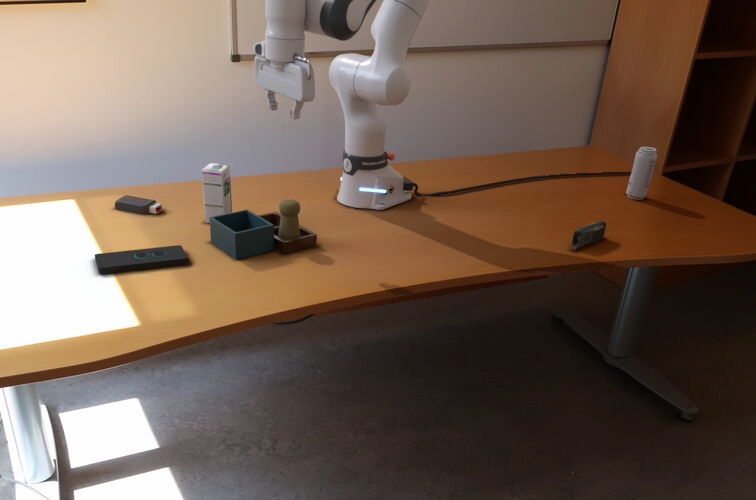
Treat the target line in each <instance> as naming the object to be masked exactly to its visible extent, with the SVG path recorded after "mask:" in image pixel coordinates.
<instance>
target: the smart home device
mask: <svg viewBox="0 0 756 500" xmlns="http://www.w3.org/2000/svg"><path fill="white" fill-rule="evenodd" d="M94 259H95V260H94V261H95V263H96V264H95V265H96V268H97V271H98V274H99V275H106V274H113V273H114V274H115V273H124V272H132V271H141V270H151V269H159V268H166V267H175V266H185V265H188V264H189V257H188V255H187V254H186V252H185V249H184V247H183V246H182V245H181V244H178V245H167V246H157V247H149V248H148V247H147V248H140V249H139V248H138V249H129V250H120V251H111V252H100V253H95V254H94Z"/></svg>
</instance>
